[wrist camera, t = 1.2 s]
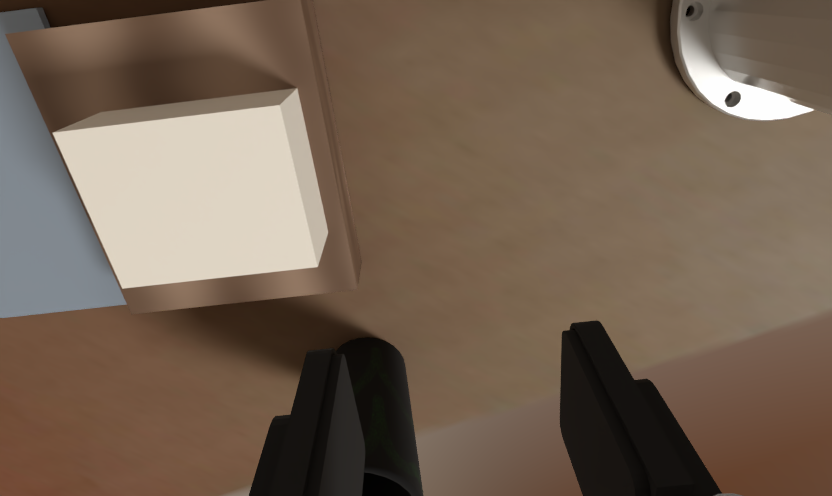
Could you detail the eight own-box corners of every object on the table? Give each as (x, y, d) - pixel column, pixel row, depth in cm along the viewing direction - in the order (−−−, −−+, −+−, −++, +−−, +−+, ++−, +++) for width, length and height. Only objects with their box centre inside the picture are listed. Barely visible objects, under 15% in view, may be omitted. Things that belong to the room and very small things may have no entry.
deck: (311, -6, 26) (299, -4, 23) (361, 261, 34) (357, 289, 31) (50, 28, 27) (4, 33, 24) (156, 284, 34) (131, 314, 31)
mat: (42, 7, 26) (36, 7, 26) (161, 296, 35) (158, 300, 34) (-160, 33, 27) (-170, 34, 26) (5, 313, 35) (0, 318, 35)
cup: (296, 348, 37) (253, 495, 26) (390, 310, 36) (385, 449, 25) (347, 418, 40) (327, 573, 30) (435, 385, 39) (447, 536, 28)
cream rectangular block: (297, 87, 25) (279, 105, 22) (328, 232, 29) (317, 267, 25) (101, 111, 26) (52, 132, 22) (156, 251, 29) (122, 288, 26)
